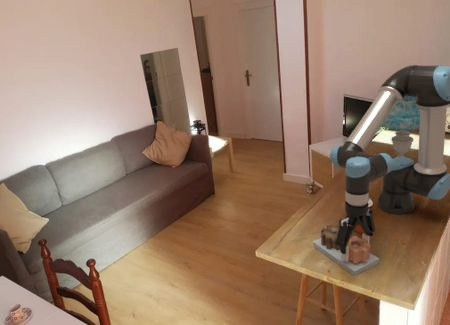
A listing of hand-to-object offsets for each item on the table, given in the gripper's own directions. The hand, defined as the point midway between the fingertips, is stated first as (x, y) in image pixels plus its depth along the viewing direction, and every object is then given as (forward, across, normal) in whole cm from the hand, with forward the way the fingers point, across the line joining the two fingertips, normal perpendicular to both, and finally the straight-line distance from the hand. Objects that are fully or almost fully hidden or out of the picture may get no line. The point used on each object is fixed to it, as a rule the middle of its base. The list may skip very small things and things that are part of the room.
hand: (355, 254), depth 127 cm
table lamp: (+3, -82, -44) cm, 93 cm away
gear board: (+3, 0, -6) cm, 6 cm away
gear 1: (+1, 0, -11) cm, 11 cm away
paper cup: (+3, -18, -14) cm, 23 cm away
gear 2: (0, 0, 0) cm, 0 cm away
